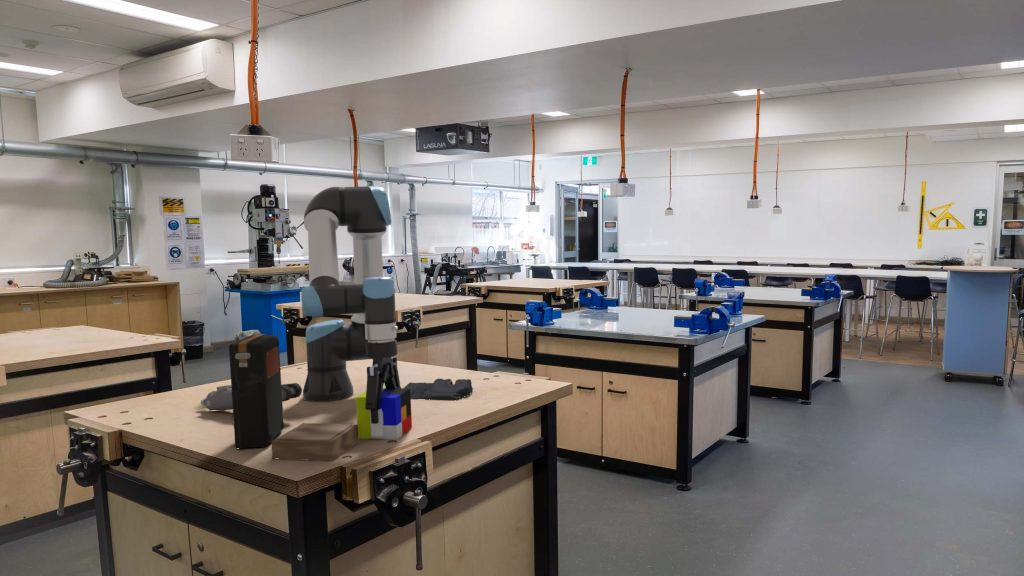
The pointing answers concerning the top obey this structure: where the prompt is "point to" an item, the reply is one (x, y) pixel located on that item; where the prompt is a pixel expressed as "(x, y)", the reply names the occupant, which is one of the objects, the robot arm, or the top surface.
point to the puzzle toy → (387, 414)
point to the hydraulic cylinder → (224, 396)
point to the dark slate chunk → (440, 389)
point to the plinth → (315, 441)
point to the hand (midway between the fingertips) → (385, 429)
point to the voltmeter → (256, 390)
